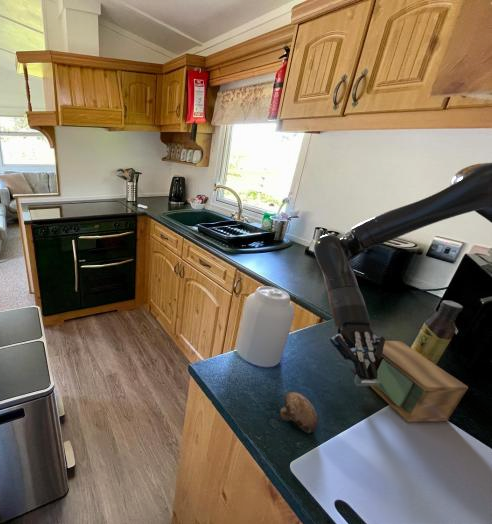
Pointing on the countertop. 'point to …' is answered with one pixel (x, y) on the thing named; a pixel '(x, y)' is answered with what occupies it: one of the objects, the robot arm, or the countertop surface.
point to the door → (389, 382)
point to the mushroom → (299, 412)
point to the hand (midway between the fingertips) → (368, 378)
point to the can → (265, 326)
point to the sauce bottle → (437, 331)
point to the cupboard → (421, 385)
